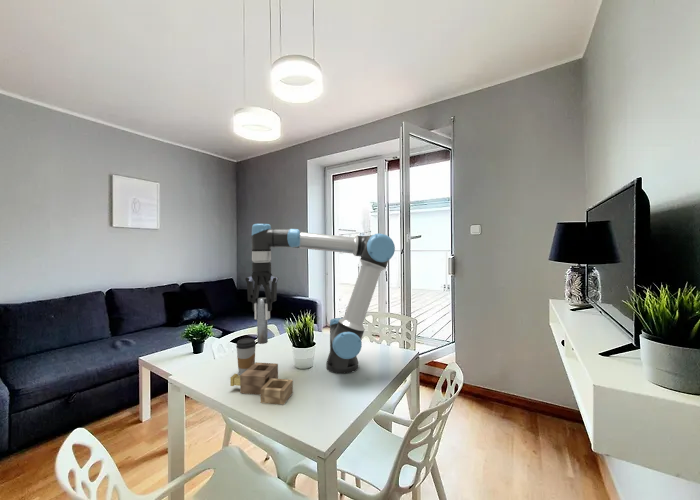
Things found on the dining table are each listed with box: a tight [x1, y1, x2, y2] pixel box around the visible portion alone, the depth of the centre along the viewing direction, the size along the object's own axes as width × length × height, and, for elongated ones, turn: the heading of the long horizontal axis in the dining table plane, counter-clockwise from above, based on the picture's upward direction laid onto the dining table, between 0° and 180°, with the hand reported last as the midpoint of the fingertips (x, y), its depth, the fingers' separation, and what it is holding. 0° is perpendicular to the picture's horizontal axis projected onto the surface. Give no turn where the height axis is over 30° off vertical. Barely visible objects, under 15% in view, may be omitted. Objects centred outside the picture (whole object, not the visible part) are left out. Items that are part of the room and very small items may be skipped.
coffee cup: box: [236, 337, 257, 375], centre depth 132 cm, size 8×8×15 cm
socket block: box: [239, 362, 279, 396], centre depth 120 cm, size 10×13×7 cm
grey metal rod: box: [256, 297, 269, 345], centre depth 121 cm, size 4×4×18 cm
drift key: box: [229, 373, 266, 387], centre depth 117 cm, size 13×3×3 cm, turn 81°
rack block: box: [260, 378, 294, 405], centre depth 111 cm, size 9×9×5 cm
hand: (262, 318), depth 120 cm, fingers closed on grey metal rod, 4 cm apart
